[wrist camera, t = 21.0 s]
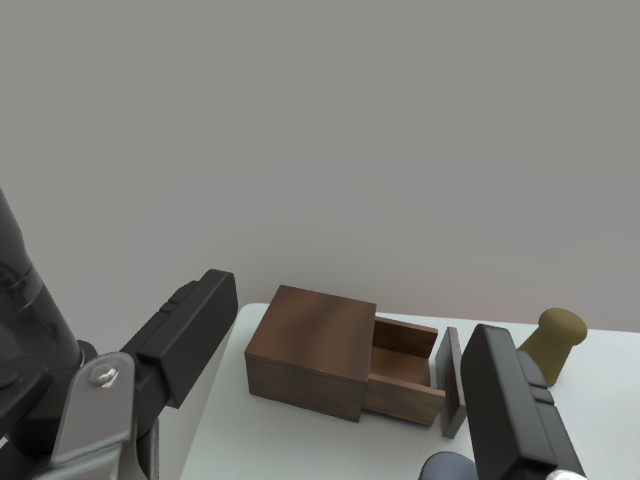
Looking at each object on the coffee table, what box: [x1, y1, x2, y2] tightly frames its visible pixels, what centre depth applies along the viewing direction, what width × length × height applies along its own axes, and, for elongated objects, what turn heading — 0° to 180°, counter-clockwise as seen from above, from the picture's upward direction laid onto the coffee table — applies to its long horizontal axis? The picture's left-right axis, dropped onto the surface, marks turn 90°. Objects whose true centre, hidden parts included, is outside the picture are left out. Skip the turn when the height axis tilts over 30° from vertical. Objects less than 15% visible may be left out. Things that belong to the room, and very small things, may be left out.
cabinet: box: [244, 285, 376, 423], centre depth 42 cm, size 15×13×9 cm
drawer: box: [362, 316, 467, 439], centre depth 40 cm, size 18×11×7 cm, turn 77°
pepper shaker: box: [518, 308, 587, 387], centre depth 43 cm, size 6×6×11 cm
